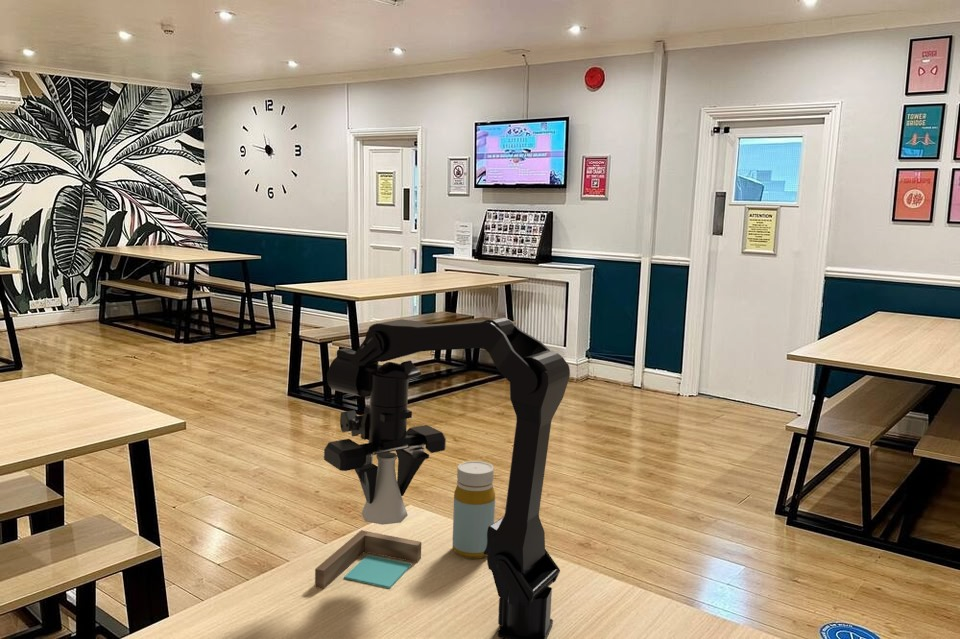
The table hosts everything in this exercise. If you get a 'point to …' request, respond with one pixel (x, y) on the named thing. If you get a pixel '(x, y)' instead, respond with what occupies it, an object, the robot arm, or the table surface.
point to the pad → (378, 571)
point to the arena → (362, 544)
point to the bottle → (473, 508)
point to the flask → (385, 494)
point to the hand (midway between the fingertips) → (385, 499)
